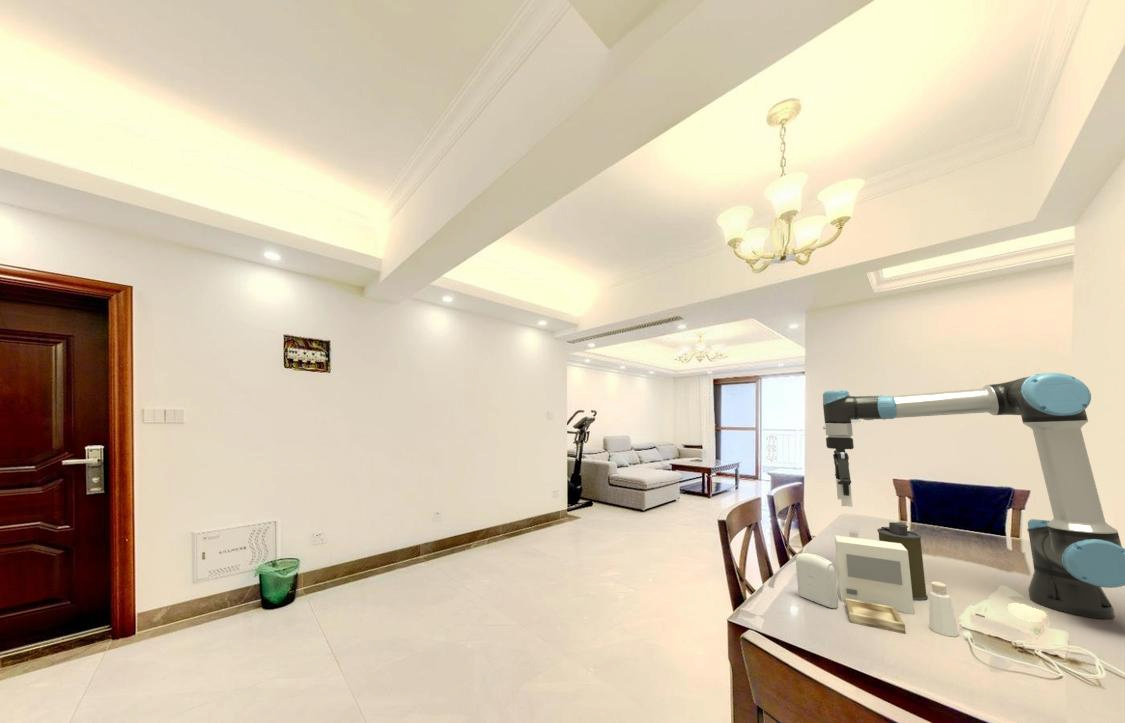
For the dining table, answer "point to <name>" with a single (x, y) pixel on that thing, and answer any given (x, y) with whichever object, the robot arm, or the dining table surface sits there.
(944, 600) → the pepper shaker
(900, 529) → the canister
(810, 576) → the photo printer
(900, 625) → the tray
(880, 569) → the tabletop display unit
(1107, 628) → the dining table surface
